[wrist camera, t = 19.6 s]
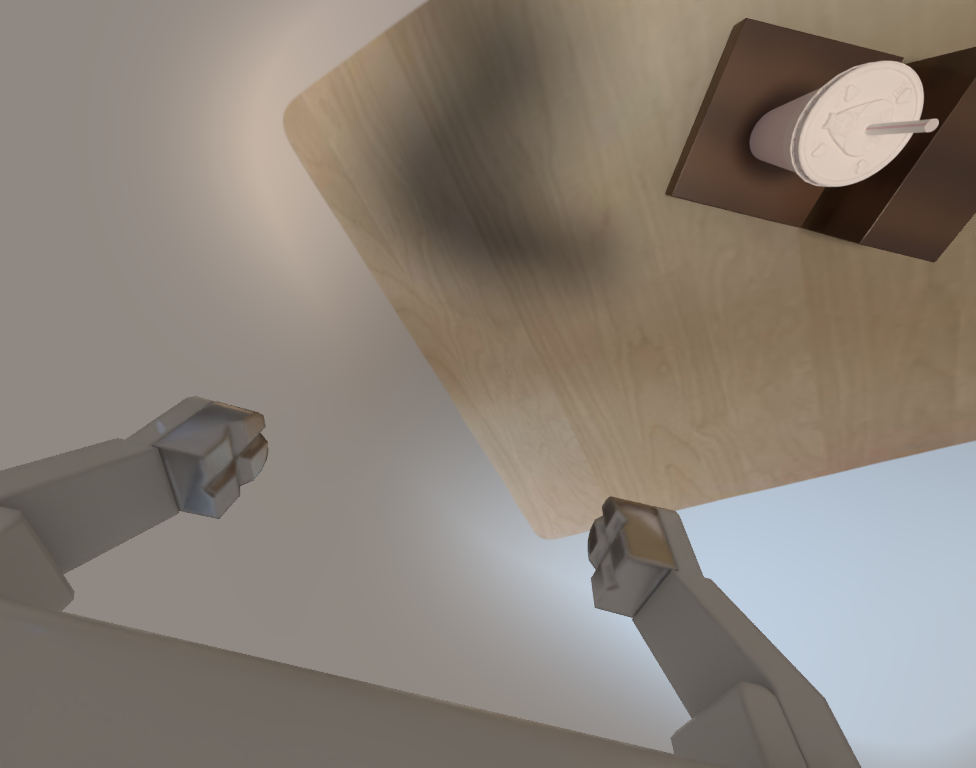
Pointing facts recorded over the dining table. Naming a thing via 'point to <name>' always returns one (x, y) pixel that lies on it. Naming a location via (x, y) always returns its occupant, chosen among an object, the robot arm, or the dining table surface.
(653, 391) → the dining table surface
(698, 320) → the dining table surface
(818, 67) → the step shelf
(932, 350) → the dining table surface
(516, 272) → the dining table surface
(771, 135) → the smoothie
